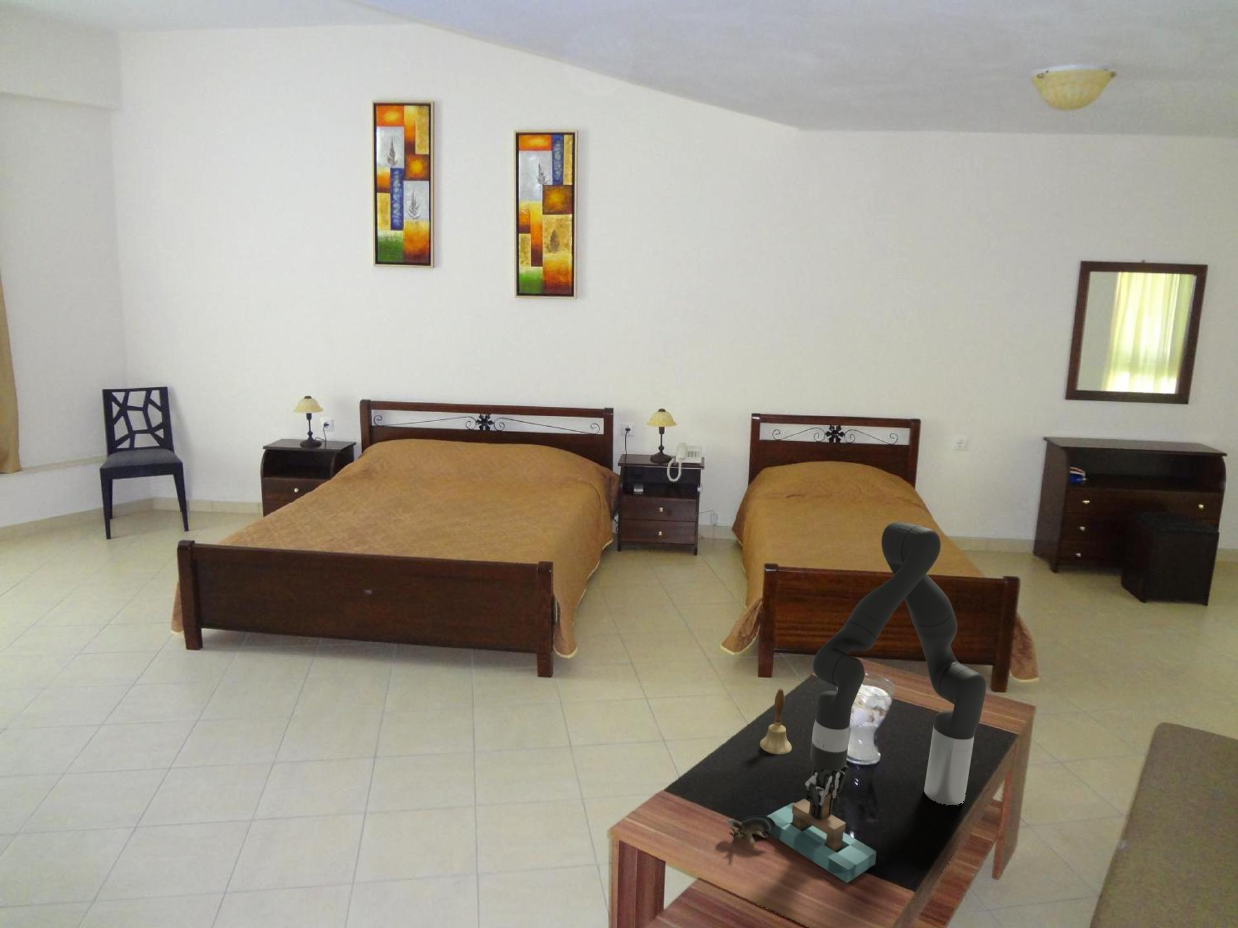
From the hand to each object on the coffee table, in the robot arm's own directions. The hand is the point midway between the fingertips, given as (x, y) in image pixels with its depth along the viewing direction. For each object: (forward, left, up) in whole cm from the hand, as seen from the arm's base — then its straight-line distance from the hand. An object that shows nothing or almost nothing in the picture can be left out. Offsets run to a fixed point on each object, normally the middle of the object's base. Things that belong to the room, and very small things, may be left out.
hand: (821, 814), depth 189 cm
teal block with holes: (0, 0, -8) cm, 8 cm away
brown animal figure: (+11, -10, -8) cm, 17 cm away
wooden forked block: (0, -1, -6) cm, 6 cm away
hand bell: (-26, -33, -8) cm, 43 cm away
